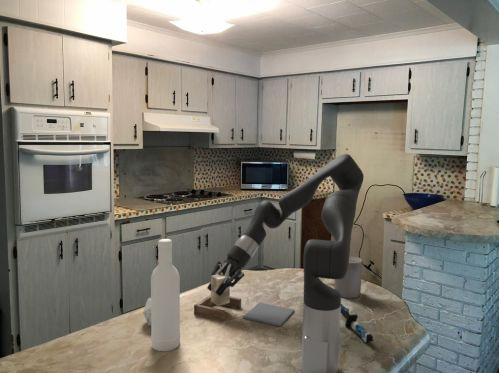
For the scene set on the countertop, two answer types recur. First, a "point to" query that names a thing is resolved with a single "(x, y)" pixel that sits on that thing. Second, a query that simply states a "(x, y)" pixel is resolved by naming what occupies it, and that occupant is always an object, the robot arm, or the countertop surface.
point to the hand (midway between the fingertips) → (213, 291)
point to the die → (148, 311)
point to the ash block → (215, 284)
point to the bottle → (165, 301)
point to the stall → (206, 311)
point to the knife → (355, 325)
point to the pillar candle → (350, 279)
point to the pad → (269, 314)
